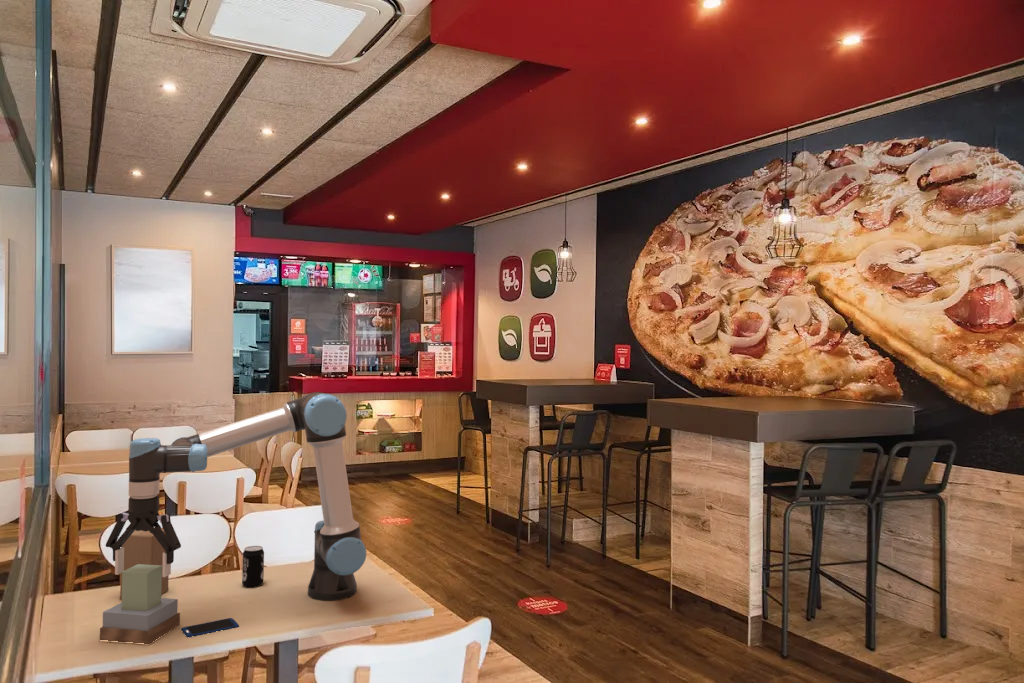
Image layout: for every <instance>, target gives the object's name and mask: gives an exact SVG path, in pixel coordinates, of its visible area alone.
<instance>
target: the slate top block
mask: <svg viewBox="0 0 1024 683" xmlns="http://www.w3.org/2000/svg"><path fill="white" fill-rule="evenodd" d="M178 601H179V600H178V598H167V597H161V602H160V603H158V604H157V605H155V606H154V607H152V608H150V609H149V610H147V611H140V610H122V609H121V607H122V602H120V603H118V604H116V605H115V606H112V607H111V608H108V609H107V610H105V611H104V610H103V612H102V627H105V628H117V629H129V630H140V631H149V630H150V629H152V628H154V627H155V626H157V625H159V624H160V623H162V622H164V621H166V620H167V619H169V618H171V617H172V616H174V615H176V614H177V613H178V605H179V603H178Z"/></svg>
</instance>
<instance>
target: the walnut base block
mask: <svg viewBox="0 0 1024 683" xmlns="http://www.w3.org/2000/svg"><path fill="white" fill-rule="evenodd" d="M180 625H181V612H177V614H176V615H174V616H172V617H171V618H169V619H167V620H166V621H164V622H162V623H160V624H159V625H157V626H155V627H154V628H152V629H150V630H149V631H140V630H129V629H117V628H105V627H103V626H102V627H100V628H99V641H100V640H108V641H118V642H133V643H144V644H150V643H152V642H153V641H155V640H156V639H158V638H159V637H161V636H163V635H164V634H166V633H167V634H169V633H170V632H172V631H173V630H175V629H176V628H178V627H179V626H180ZM174 628H175V629H174ZM171 630H172V631H171ZM169 631H170V632H169ZM168 632H169V633H168ZM167 634H166V635H167ZM164 636H165V635H164ZM164 636H163V637H164ZM161 638H162V637H161ZM159 639H160V638H159ZM159 639H158V640H159ZM156 641H157V640H156ZM156 641H155V642H156ZM153 643H154V642H153ZM153 643H152V644H153ZM150 645H151V644H150Z"/></svg>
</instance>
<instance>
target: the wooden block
mask: <svg viewBox="0 0 1024 683" xmlns="http://www.w3.org/2000/svg"><path fill="white" fill-rule="evenodd" d="M154 528H155V527H154ZM161 529H162V531H163V532H164V530H163V527H161ZM164 533H165V532H164ZM165 535H166V534H165ZM120 548H124V571H125V570H127V569H129V568H131V567H133V566H135V565H137V564H143V565H162V568H163V552H165V550H164V548H163V547H162V546H161V544H160V543H159V542H158V540H157V539H156V538H155V536H154V535H153V534H152V533H150V532H149V531H142V530H141V531H136V530H135V531H134V532H133V533H132V534H131V536H130V537H129V538H128V539H127V540H126V542H125V543H124V544H123V545H122V547H120ZM169 576H170V575H168V576H166V577H162V587H161V595H163V594H165V593H166V591H167V592H168V591H169ZM119 592H120V593H119V594H120V595H119V599H120V600H122V573H120V591H119ZM164 592H165V593H164Z"/></svg>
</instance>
